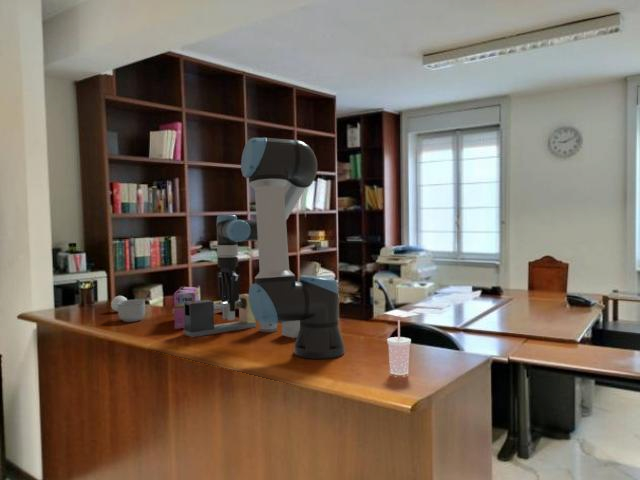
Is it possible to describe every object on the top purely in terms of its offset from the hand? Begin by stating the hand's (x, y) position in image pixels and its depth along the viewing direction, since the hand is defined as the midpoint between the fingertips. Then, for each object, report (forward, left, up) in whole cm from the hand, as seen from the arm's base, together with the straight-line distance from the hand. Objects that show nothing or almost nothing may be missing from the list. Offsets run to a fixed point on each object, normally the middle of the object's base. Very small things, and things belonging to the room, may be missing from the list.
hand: (228, 319), depth 191 cm
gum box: (+11, +20, -4) cm, 23 cm away
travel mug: (-2, -16, -4) cm, 16 cm away
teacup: (+16, +46, -4) cm, 49 cm away
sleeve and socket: (-2, +2, -2) cm, 4 cm away
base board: (-2, +2, -4) cm, 5 cm away
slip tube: (-2, +2, +4) cm, 5 cm away
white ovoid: (+33, +60, -4) cm, 69 cm away
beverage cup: (-52, -61, -4) cm, 80 cm away
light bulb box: (-7, -28, -4) cm, 29 cm away
